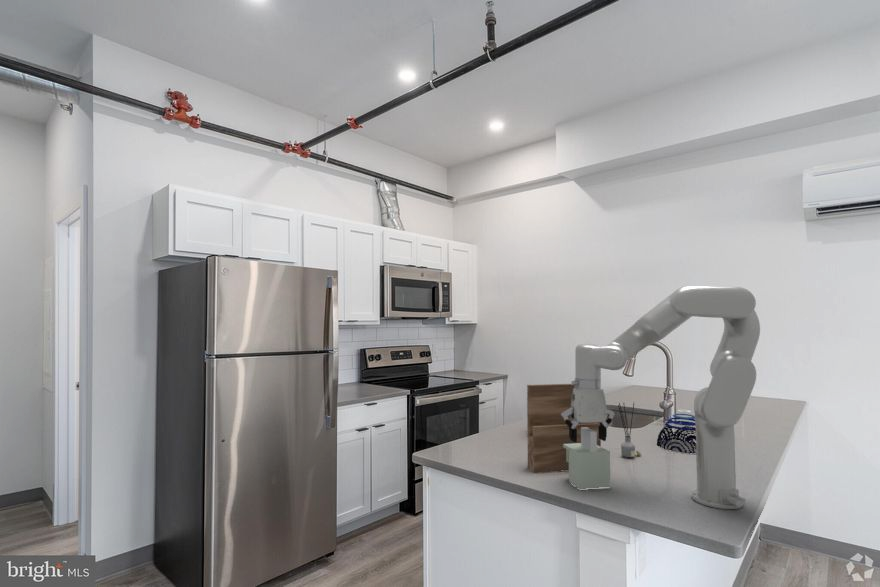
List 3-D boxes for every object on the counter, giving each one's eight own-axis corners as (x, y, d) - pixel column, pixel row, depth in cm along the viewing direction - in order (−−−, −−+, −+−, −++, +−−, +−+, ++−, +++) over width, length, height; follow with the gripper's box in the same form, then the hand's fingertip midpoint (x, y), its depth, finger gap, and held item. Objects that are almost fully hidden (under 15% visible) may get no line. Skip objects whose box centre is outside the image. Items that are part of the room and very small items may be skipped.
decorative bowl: (721, 447, 188) (720, 411, 189) (704, 458, 174) (703, 418, 175) (668, 438, 203) (667, 404, 203) (649, 447, 189) (648, 410, 189)
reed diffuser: (625, 460, 170) (624, 404, 171) (610, 455, 176) (609, 401, 177) (644, 457, 175) (643, 402, 176) (629, 452, 181) (628, 399, 182)
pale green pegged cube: (610, 488, 143) (609, 431, 144) (579, 491, 141) (579, 433, 142) (592, 476, 153) (591, 423, 154) (563, 479, 151) (563, 425, 152)
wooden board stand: (601, 468, 161) (599, 385, 163) (534, 473, 157) (534, 387, 158) (592, 463, 167) (591, 383, 169) (527, 467, 163) (527, 384, 164)
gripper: (567, 386, 141) (567, 444, 141) (620, 385, 145) (620, 442, 144) (556, 383, 149) (556, 438, 148) (606, 382, 152) (606, 436, 151)
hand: (587, 440), depth 146 cm, fingers open, 9 cm apart
